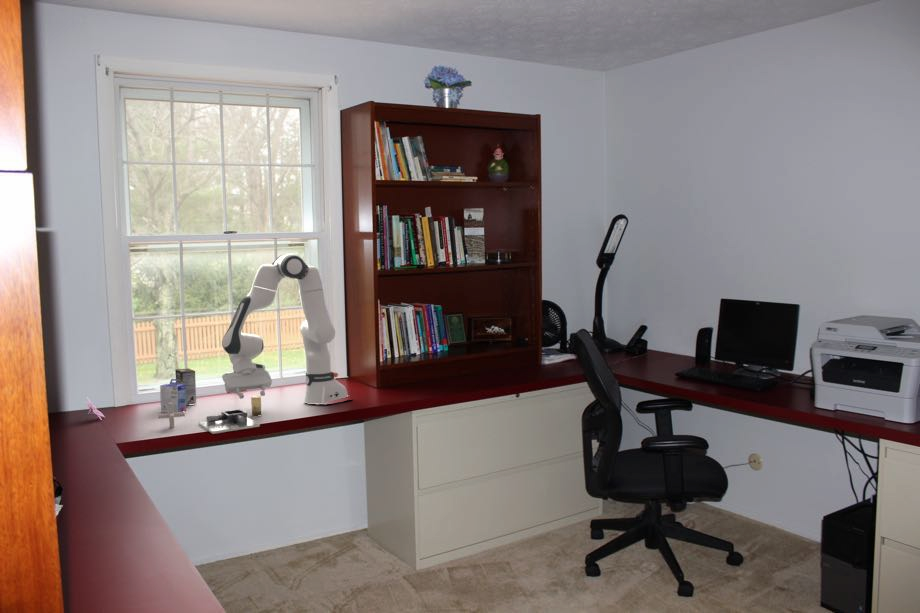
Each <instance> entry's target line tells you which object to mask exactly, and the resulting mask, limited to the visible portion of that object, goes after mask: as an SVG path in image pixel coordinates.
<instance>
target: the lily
mask: <svg viewBox="0 0 920 613" xmlns="http://www.w3.org/2000/svg"><path fill="white" fill-rule="evenodd" d="M86 398H87V400H88V402H87V401H84V403H85V404H86V405H87V406H88V409H89V410H88V413H87V414H86V416H85V417H84V419H83V420H82V422H85V420H86V418H87V417H88V416H89V414H90V415H96V416H97V417H98V418H99V420H102V418H101V417H103V418H105V415H104V414H103V413H102V412H101V411H100V410H98V408H97V406H95V405H94V403H93V401H91V399H89V397H87V396H86ZM102 421H103V420H102Z"/></svg>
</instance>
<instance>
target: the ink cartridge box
mask: <svg viewBox="0 0 920 613" xmlns="http://www.w3.org/2000/svg"><path fill="white" fill-rule="evenodd" d="M177 382H178V379H176V378H171V379H170V381H169V383H166V384H162V385H159V388H160V390H159V391H160V413H169V403H173V407H174V413H178V412H183V411H185V412H186V411H187V406H186V394H185V385H184V384H177Z"/></svg>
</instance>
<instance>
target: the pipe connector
mask: <svg viewBox="0 0 920 613" xmlns="http://www.w3.org/2000/svg"><path fill="white" fill-rule="evenodd" d="M185 412H186V411H185ZM185 412H178V413H174V407H173V403H169V413H167V412H165V413H158V414H157V418H158V419H169V420H168V422H169V426H168V427H169V428H170V429H173V428H175V418H181V417H185V416H186V414H185Z"/></svg>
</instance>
